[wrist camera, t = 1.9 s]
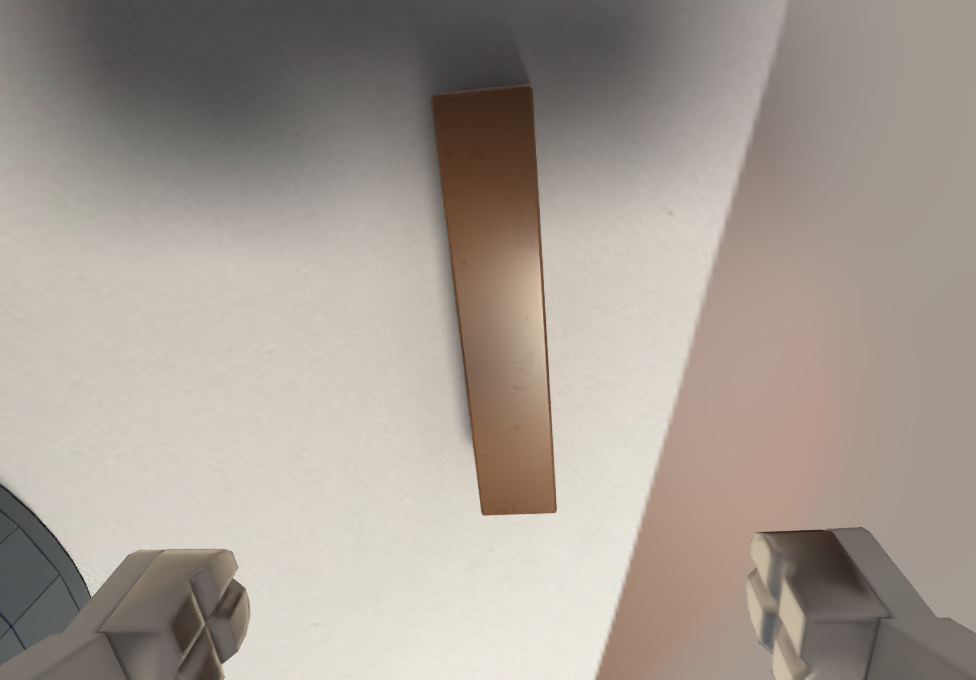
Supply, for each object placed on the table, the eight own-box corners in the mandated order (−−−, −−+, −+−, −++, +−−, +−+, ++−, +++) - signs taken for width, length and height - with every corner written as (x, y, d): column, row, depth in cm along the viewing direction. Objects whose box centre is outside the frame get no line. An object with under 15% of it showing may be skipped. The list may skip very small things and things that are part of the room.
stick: (444, 92, 17) (429, 95, 14) (530, 83, 17) (532, 85, 14) (486, 462, 22) (481, 516, 20) (553, 460, 22) (557, 513, 19)
